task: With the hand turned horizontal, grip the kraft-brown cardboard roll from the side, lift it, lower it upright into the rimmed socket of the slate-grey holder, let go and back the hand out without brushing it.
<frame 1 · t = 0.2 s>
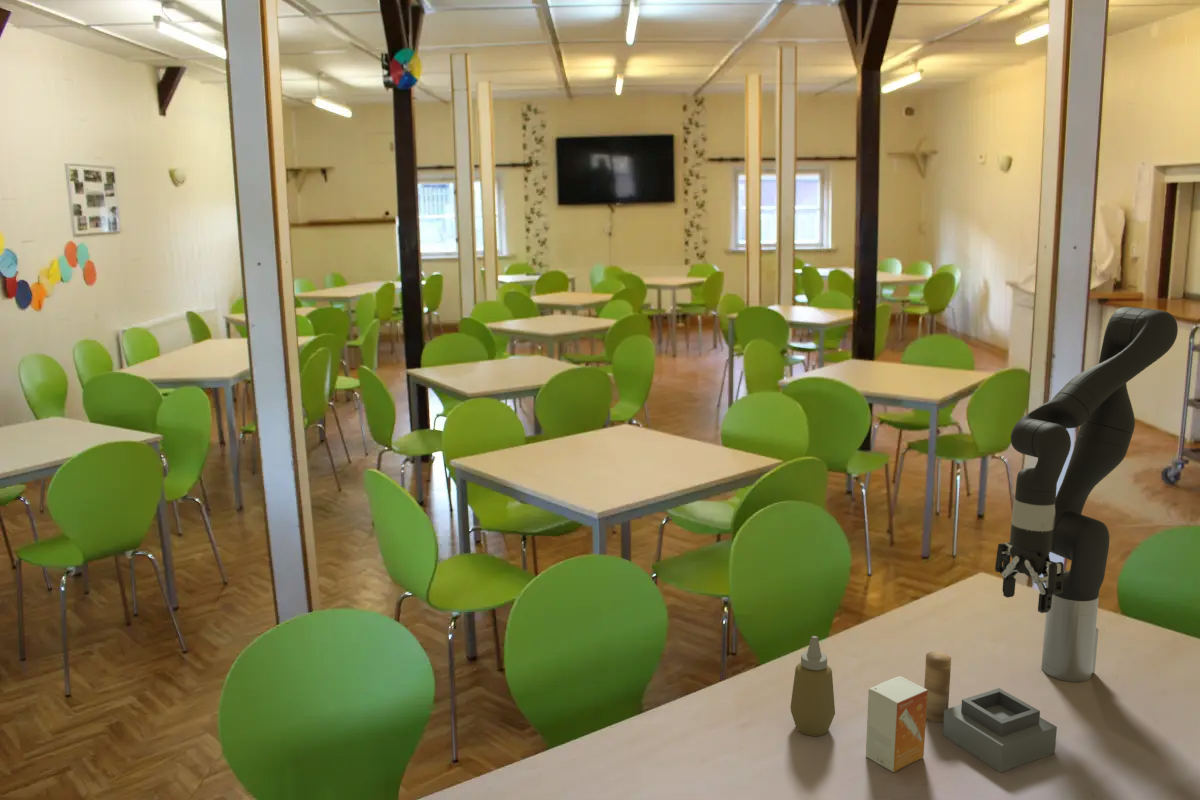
hand: (1025, 604, 185), 18 cm above the table, tool pointing down, fingers open, 8 cm apart
squeeze bottle: (812, 729, 176), on the table
cardboard roll: (935, 716, 179), on the table
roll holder: (997, 743, 170), on the table
small box: (894, 758, 167), on the table
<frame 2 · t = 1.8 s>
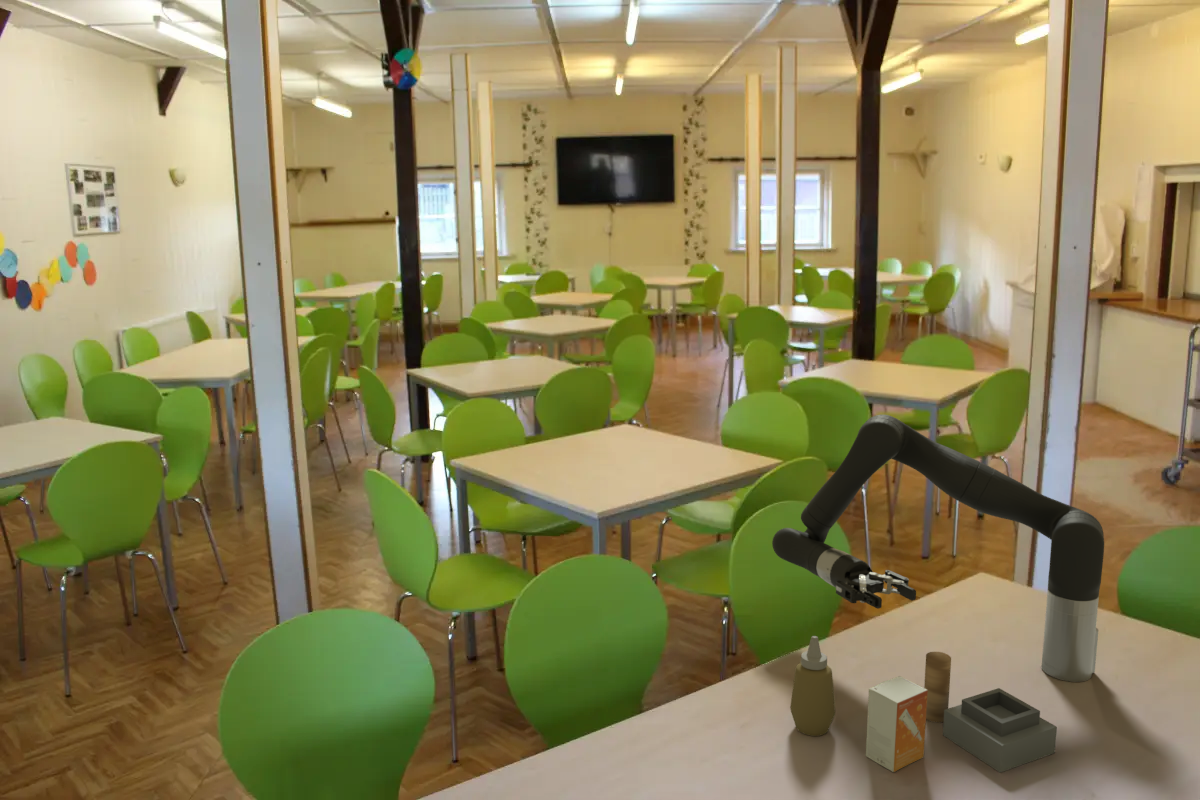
hand: (897, 599, 185), 19 cm above the table, tool horizontal, fingers open, 8 cm apart
nothing on the table moved.
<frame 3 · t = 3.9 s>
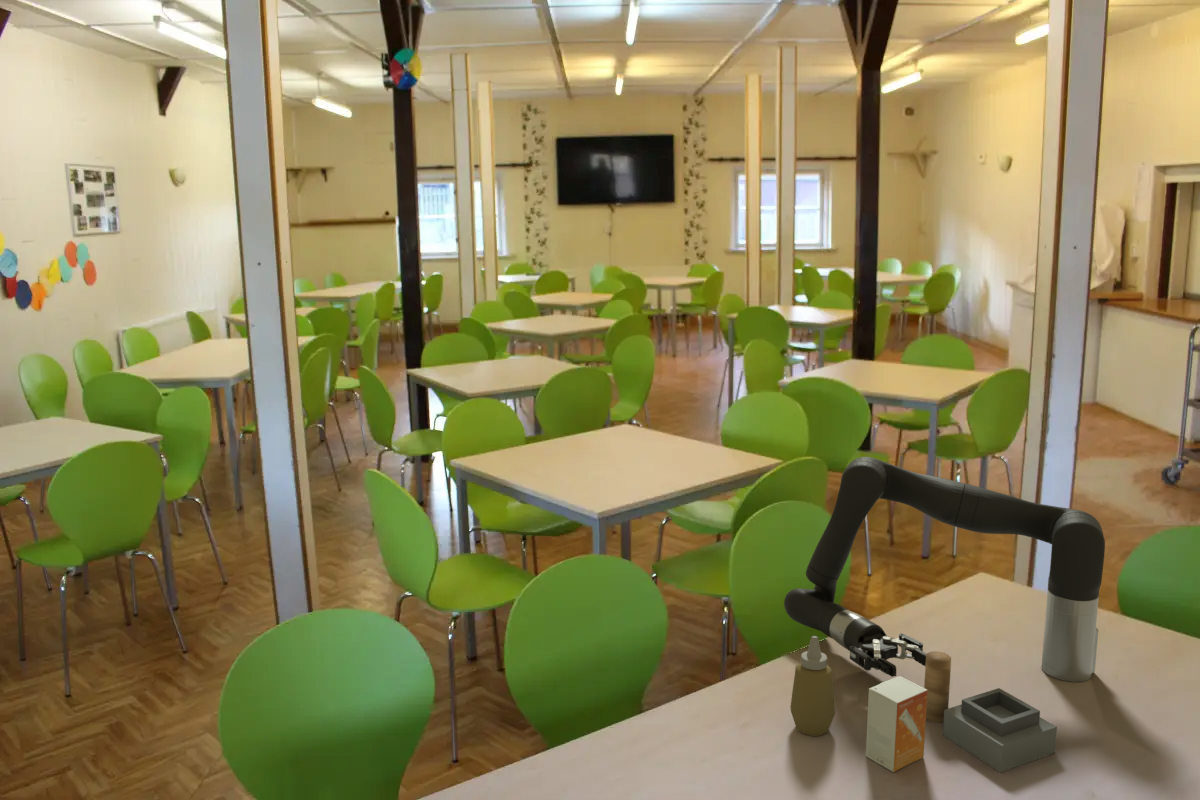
hand: (912, 667, 184), 7 cm above the table, tool horizontal, fingers open, 8 cm apart
nothing on the table moved.
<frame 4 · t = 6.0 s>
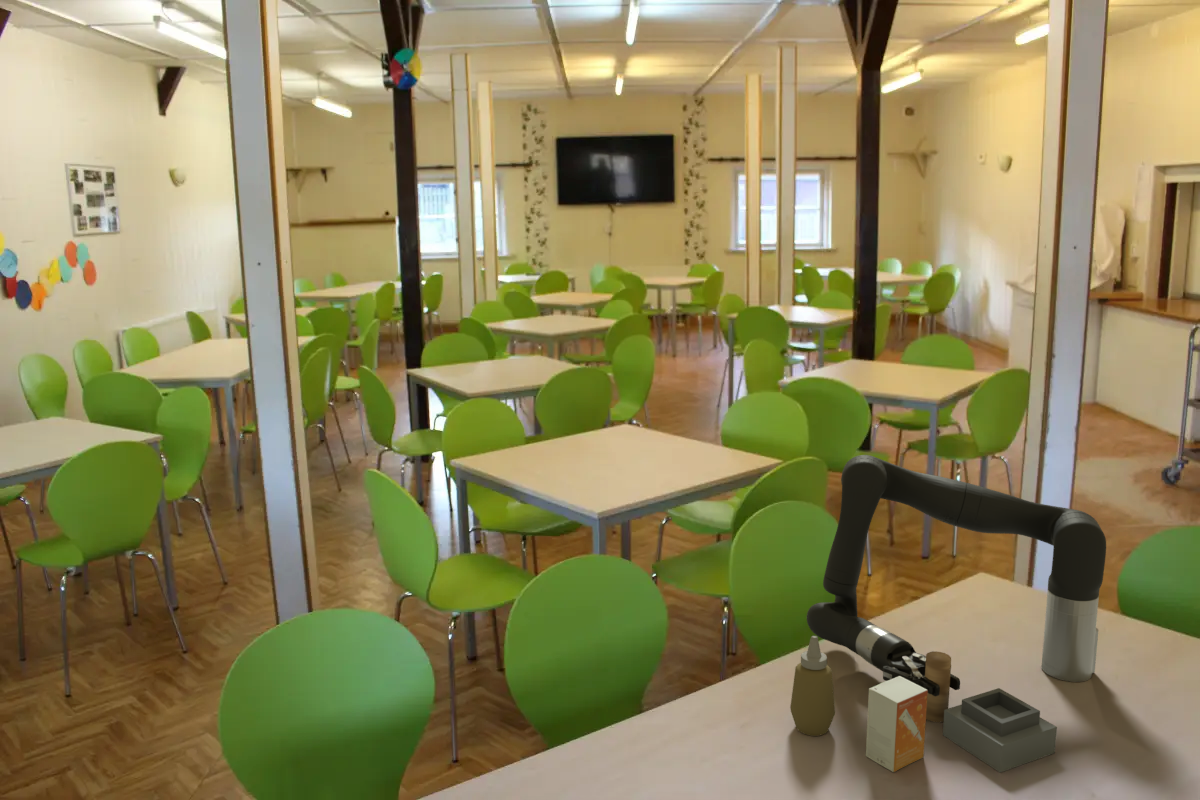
hand: (948, 688, 175), 7 cm above the table, tool horizontal, fingers closed on cardboard roll, 4 cm apart
cardboard roll: (935, 716, 179), on the table, touching gripper
everything else where it was.
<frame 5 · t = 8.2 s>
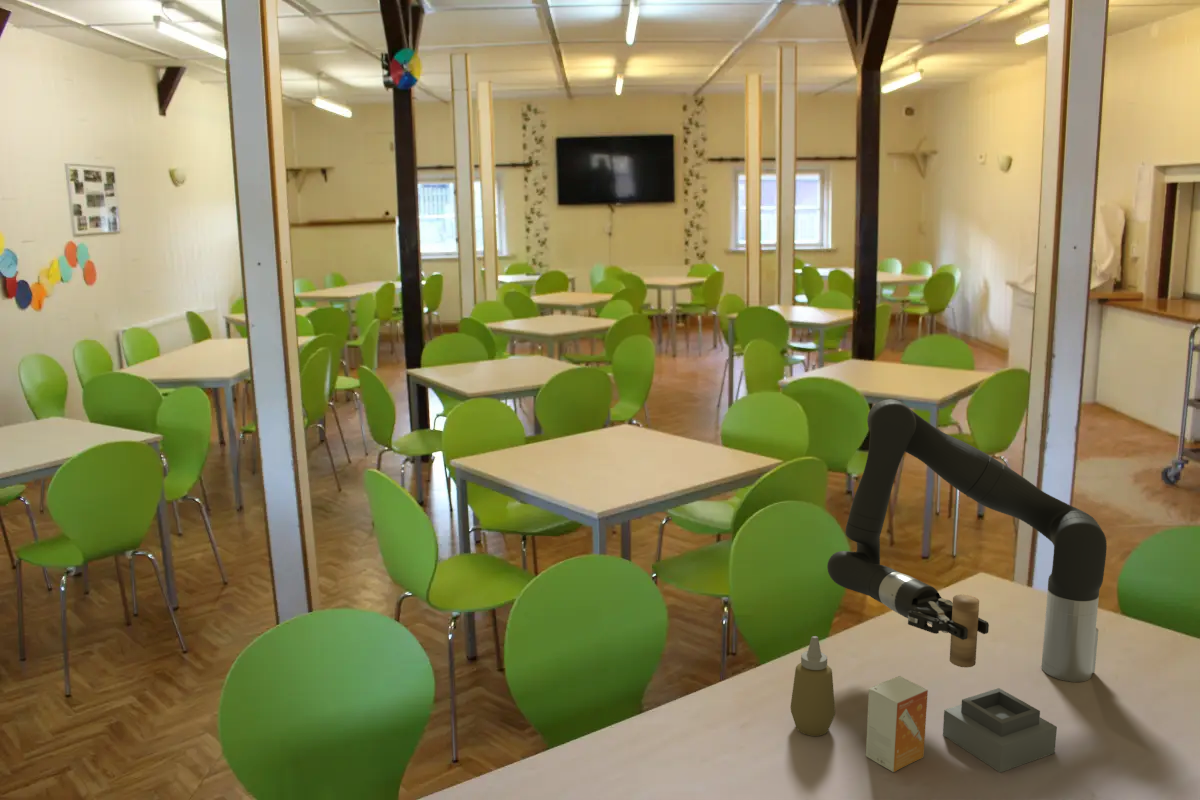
hand: (976, 631, 169), 20 cm above the table, tool horizontal, fingers closed on cardboard roll, 4 cm apart
cardboard roll: (962, 661, 173), point 13 cm above the table, touching gripper
everything else where it was.
when the fingers open (13 cm above the table, at t = 10.7 s): cardboard roll drops 1 cm, resting on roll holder.
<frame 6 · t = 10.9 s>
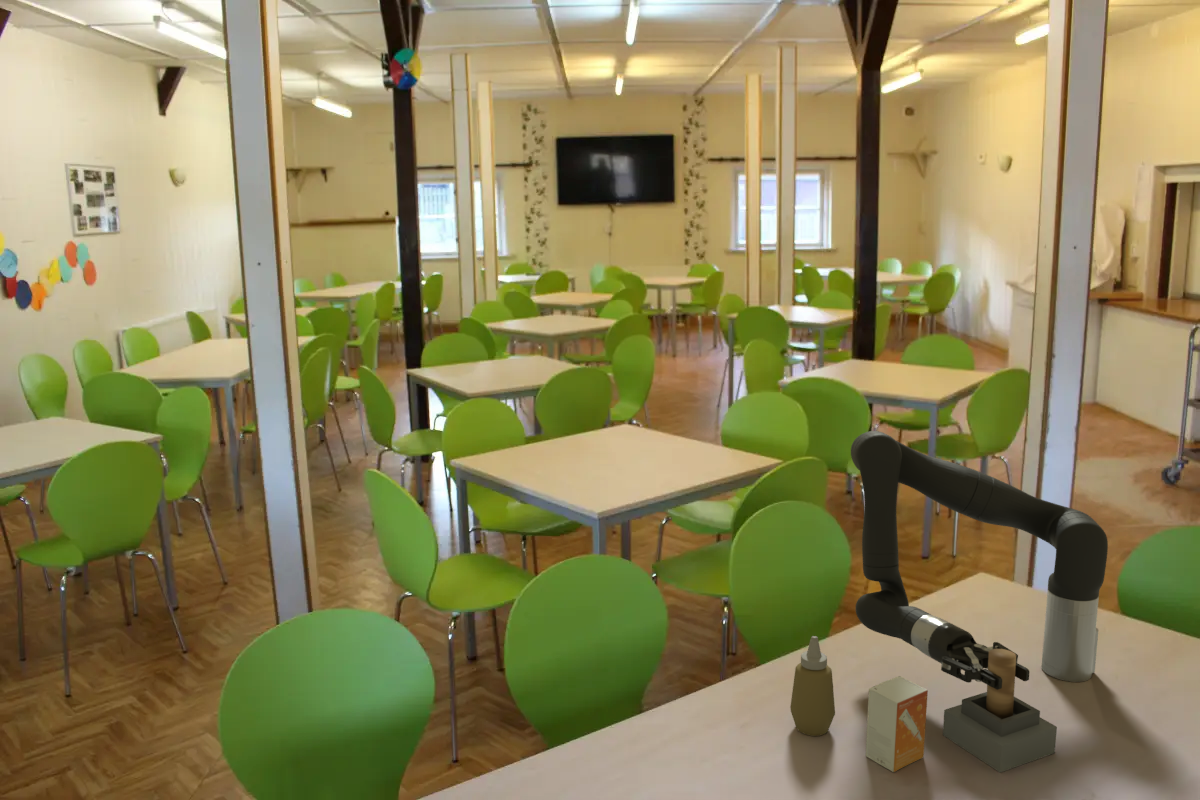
hand: (1014, 679, 165), 13 cm above the table, tool horizontal, fingers open, 6 cm apart
cardboard roll: (999, 717, 169), point 5 cm above the table, touching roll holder
everything else where it was.
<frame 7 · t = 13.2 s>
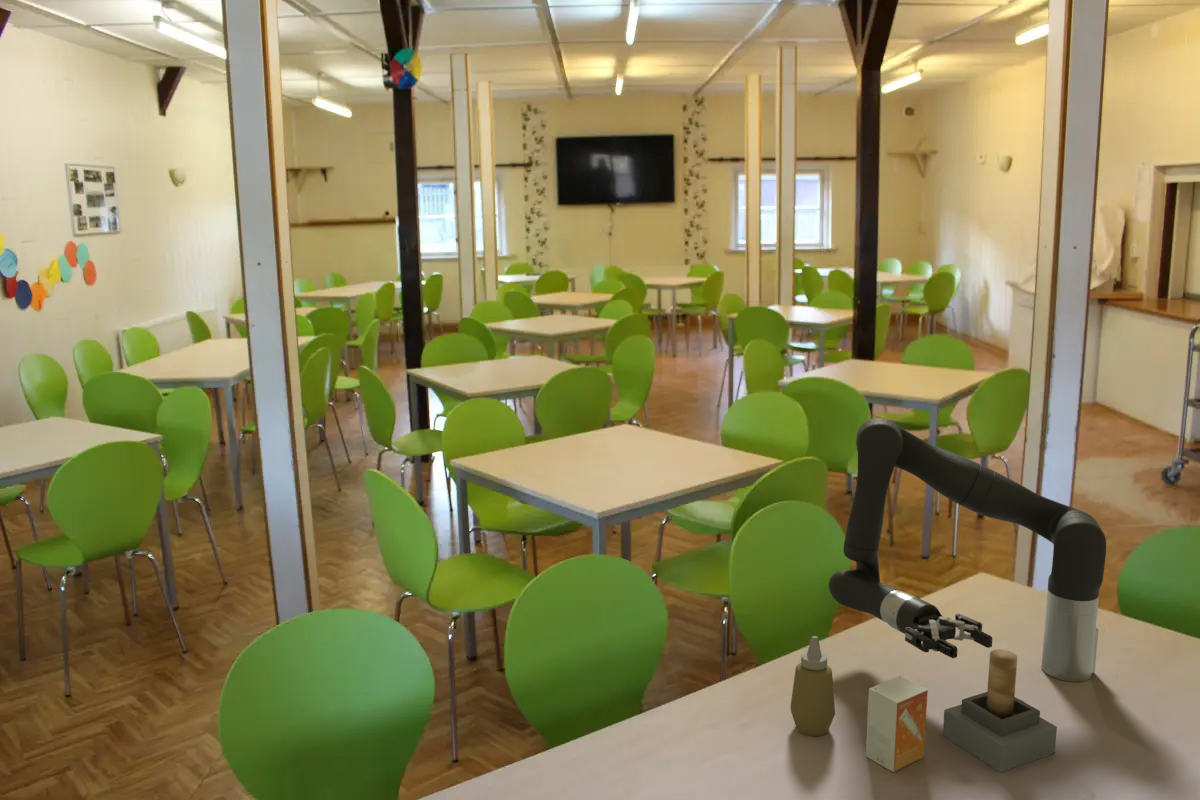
hand: (973, 647, 173), 15 cm above the table, tool horizontal, fingers open, 8 cm apart
nothing on the table moved.
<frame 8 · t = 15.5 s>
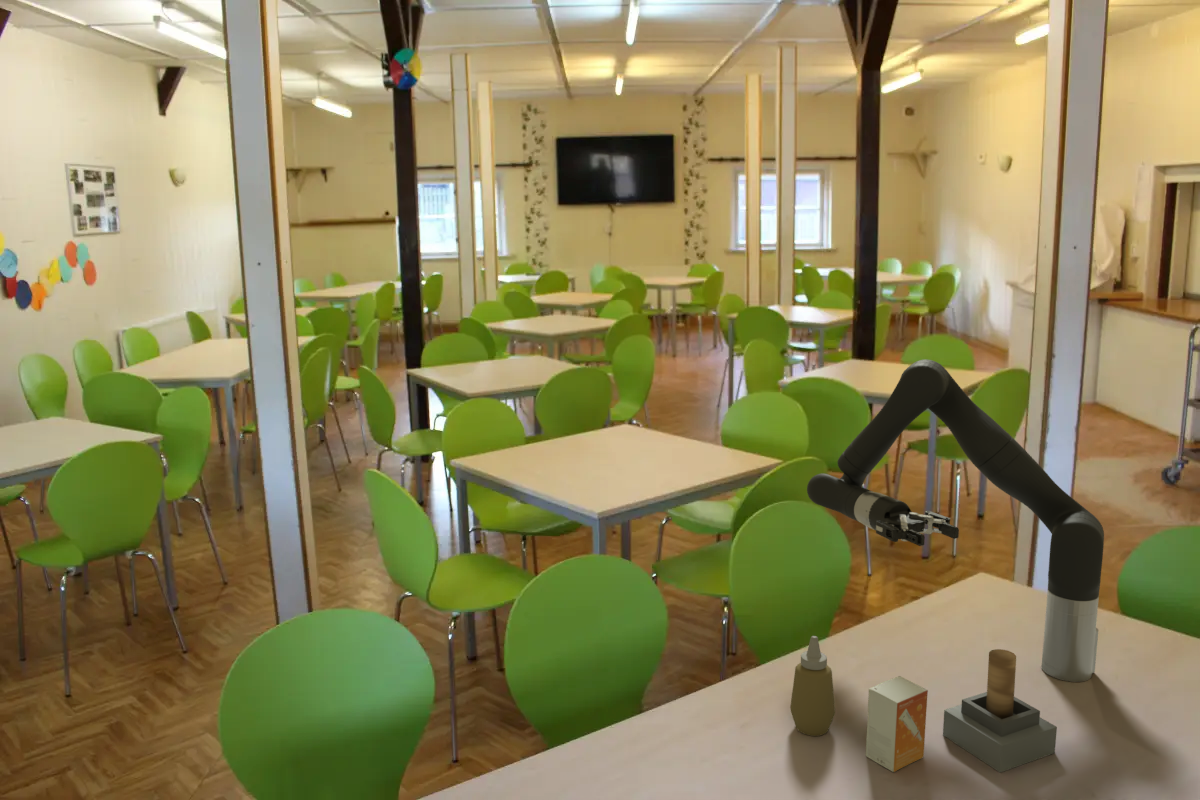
hand: (940, 537, 182), 32 cm above the table, tool horizontal, fingers open, 8 cm apart
nothing on the table moved.
at the end: cardboard roll 0.1 cm off-centre on the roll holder, point 5.0 cm above the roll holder's base; cardboard roll tilted 1°; the gripper is holding nothing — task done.
